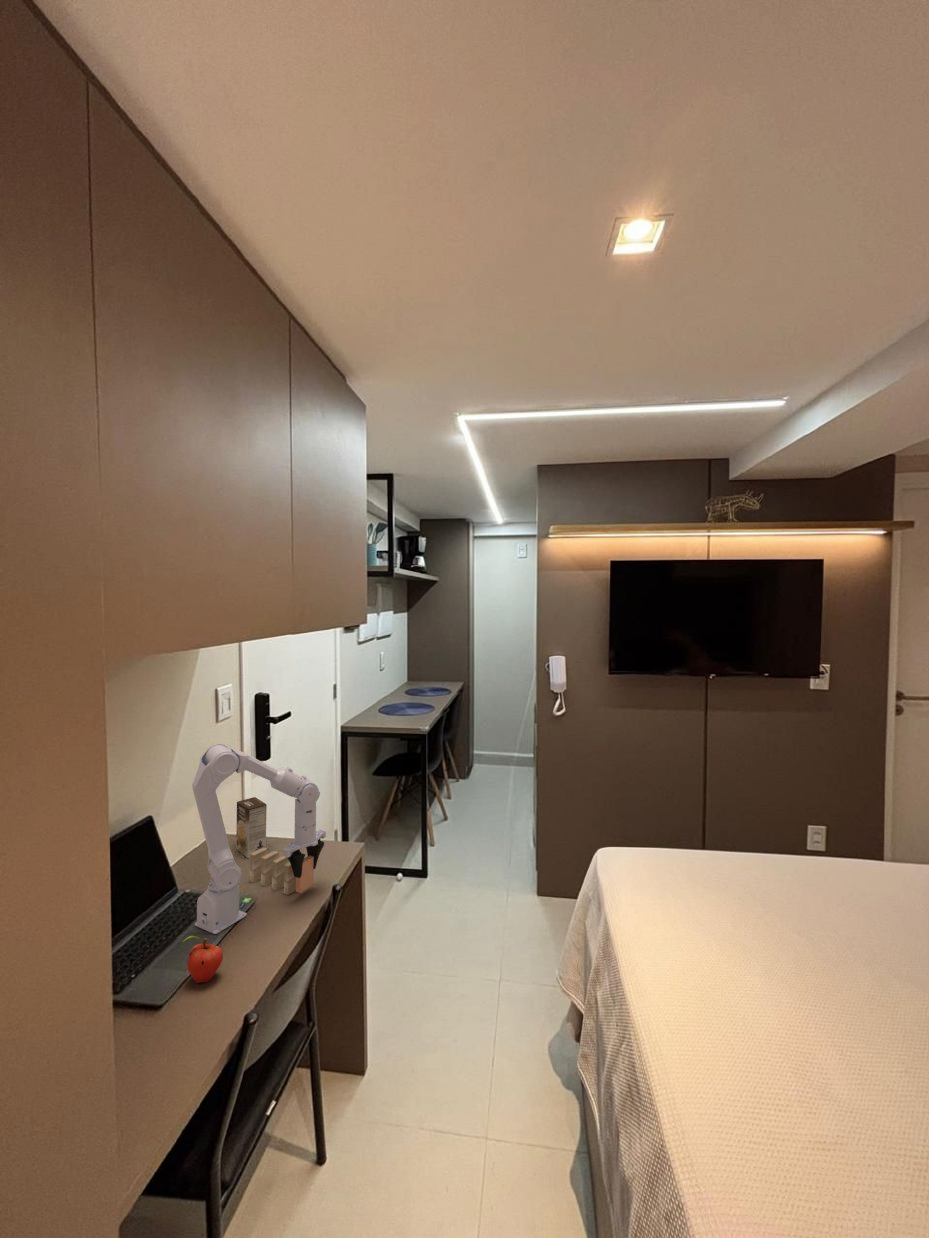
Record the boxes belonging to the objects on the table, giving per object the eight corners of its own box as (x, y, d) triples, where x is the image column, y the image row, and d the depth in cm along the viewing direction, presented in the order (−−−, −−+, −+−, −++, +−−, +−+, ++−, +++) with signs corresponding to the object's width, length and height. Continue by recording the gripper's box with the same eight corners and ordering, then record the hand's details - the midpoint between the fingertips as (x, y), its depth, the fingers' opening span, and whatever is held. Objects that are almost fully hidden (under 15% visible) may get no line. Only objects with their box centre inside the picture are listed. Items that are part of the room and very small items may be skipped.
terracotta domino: (295, 891, 147) (296, 862, 147) (309, 883, 152) (309, 855, 152) (300, 892, 147) (300, 863, 146) (313, 884, 151) (313, 856, 151)
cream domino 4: (301, 886, 153) (301, 858, 153) (287, 894, 149) (288, 866, 149) (297, 885, 154) (297, 857, 154) (283, 893, 149) (284, 864, 149)
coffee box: (235, 849, 176) (235, 801, 175) (254, 843, 180) (254, 796, 180) (247, 859, 169) (248, 808, 169) (267, 852, 174) (267, 803, 174)
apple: (213, 963, 120) (213, 919, 119) (228, 977, 115) (228, 931, 115) (177, 981, 114) (177, 934, 114) (191, 996, 109) (191, 948, 109)
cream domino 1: (267, 875, 159) (267, 848, 159) (253, 882, 155) (253, 855, 155) (263, 873, 160) (263, 847, 160) (249, 881, 156) (250, 853, 156)
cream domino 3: (289, 882, 155) (290, 855, 155) (276, 890, 151) (276, 862, 151) (285, 881, 156) (285, 854, 156) (272, 889, 152) (272, 861, 151)
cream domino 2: (278, 878, 157) (278, 851, 157) (264, 886, 153) (265, 858, 153) (274, 877, 158) (274, 850, 158) (260, 885, 154) (261, 857, 153)
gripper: (296, 836, 141) (296, 887, 141) (334, 817, 153) (333, 864, 154) (277, 830, 144) (276, 881, 144) (315, 813, 157) (315, 859, 157)
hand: (304, 872), depth 149 cm, fingers closed on terracotta domino, 5 cm apart
